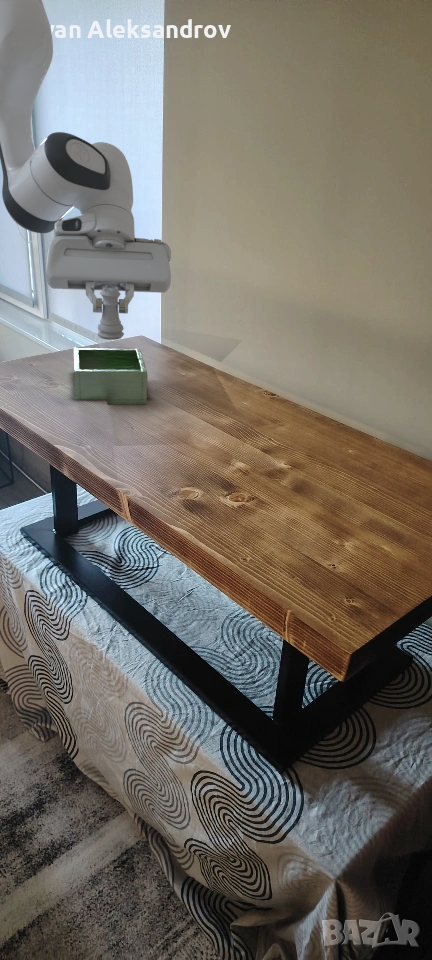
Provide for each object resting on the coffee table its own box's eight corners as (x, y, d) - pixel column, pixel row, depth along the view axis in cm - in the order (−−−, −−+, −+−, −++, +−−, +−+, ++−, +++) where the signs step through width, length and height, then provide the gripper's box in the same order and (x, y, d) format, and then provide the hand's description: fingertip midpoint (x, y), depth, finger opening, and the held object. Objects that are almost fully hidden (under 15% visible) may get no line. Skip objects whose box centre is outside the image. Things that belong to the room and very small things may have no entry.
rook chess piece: (92, 337, 103) (91, 288, 99) (104, 330, 106) (103, 282, 102) (117, 342, 102) (117, 292, 98) (128, 334, 105) (128, 286, 101)
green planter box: (75, 404, 102) (74, 371, 99) (74, 379, 112) (73, 347, 109) (146, 404, 105) (147, 371, 102) (139, 379, 114) (140, 348, 112)
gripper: (168, 251, 110) (171, 322, 106) (47, 245, 106) (47, 319, 102) (172, 228, 104) (176, 303, 100) (44, 221, 100) (44, 298, 96)
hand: (110, 311), depth 101 cm, fingers closed on rook chess piece, 3 cm apart
